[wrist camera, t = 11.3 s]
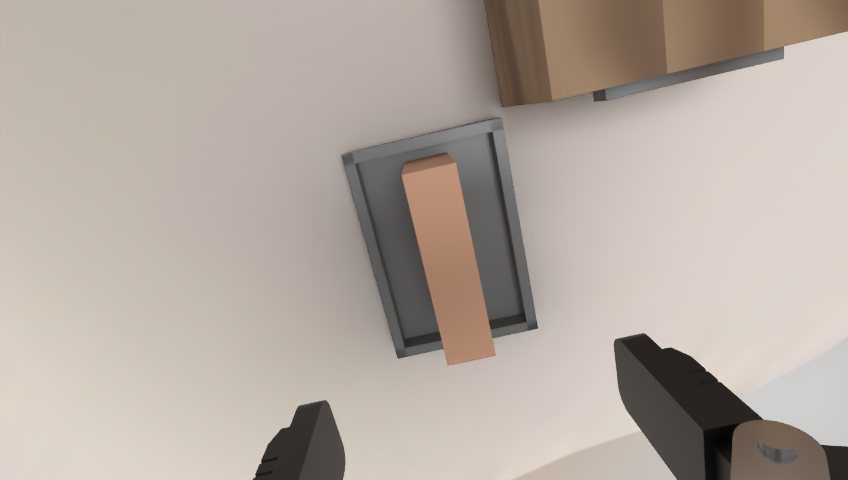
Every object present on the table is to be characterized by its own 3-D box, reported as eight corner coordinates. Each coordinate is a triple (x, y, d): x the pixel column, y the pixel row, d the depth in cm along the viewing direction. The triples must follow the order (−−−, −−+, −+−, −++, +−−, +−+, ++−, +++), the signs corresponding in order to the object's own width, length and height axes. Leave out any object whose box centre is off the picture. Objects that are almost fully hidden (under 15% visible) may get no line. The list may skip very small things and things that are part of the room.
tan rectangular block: (441, 314, 28) (447, 365, 22) (404, 161, 25) (401, 175, 19) (479, 306, 28) (495, 355, 22) (446, 152, 25) (455, 162, 19)
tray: (398, 344, 29) (397, 358, 27) (346, 152, 26) (341, 155, 24) (530, 315, 29) (537, 328, 27) (495, 117, 25) (501, 117, 24)
